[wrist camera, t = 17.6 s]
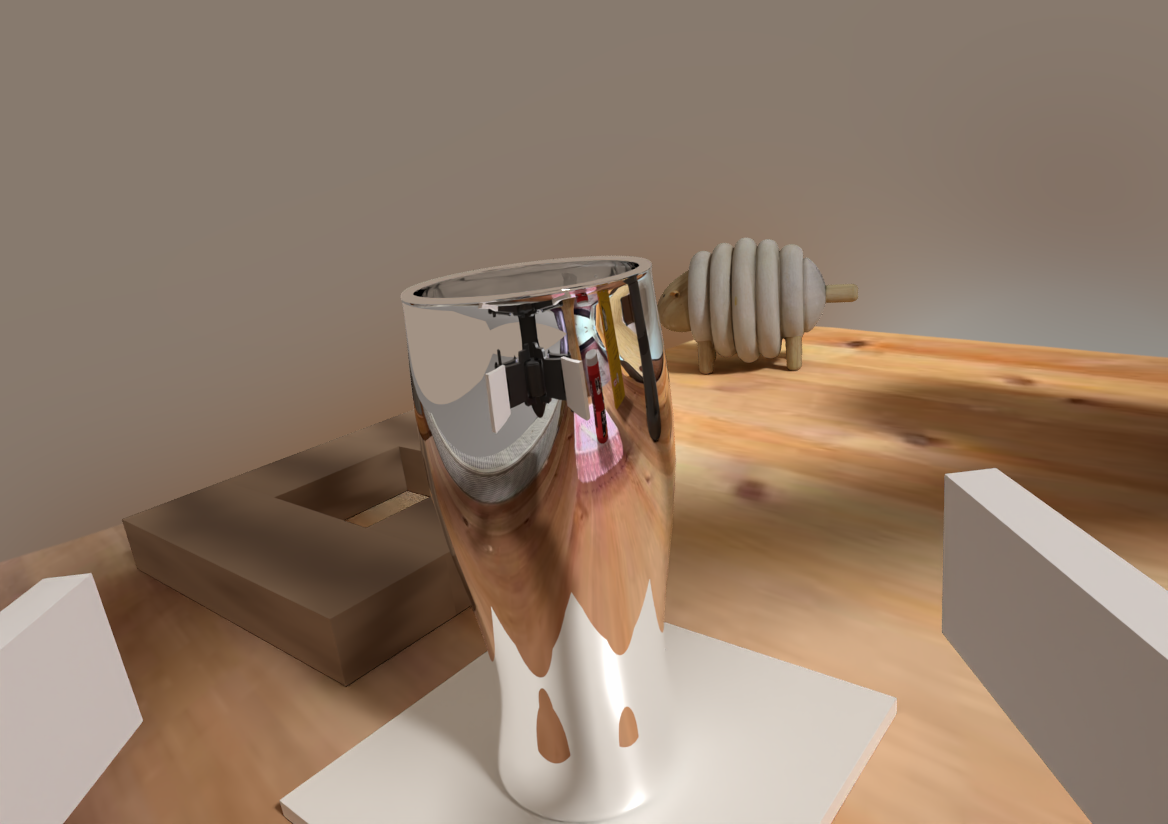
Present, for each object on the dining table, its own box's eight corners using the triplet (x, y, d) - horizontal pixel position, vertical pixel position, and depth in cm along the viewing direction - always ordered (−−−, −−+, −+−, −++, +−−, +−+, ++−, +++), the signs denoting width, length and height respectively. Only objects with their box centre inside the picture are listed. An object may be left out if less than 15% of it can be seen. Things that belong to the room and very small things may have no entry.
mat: (571, 603, 34) (570, 591, 34) (896, 713, 26) (896, 697, 25) (283, 815, 24) (279, 800, 24) (653, 1117, 16) (651, 1097, 15)
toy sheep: (667, 357, 76) (657, 240, 72) (850, 345, 72) (848, 221, 69) (655, 388, 66) (642, 255, 63) (866, 375, 62) (865, 233, 59)
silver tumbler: (604, 882, 20) (523, 304, 16) (436, 769, 25) (337, 298, 20) (744, 726, 25) (712, 251, 21) (582, 656, 30) (528, 256, 25)
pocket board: (420, 448, 57) (413, 409, 57) (642, 494, 45) (637, 445, 44) (137, 568, 43) (122, 519, 42) (346, 686, 31) (329, 619, 30)
